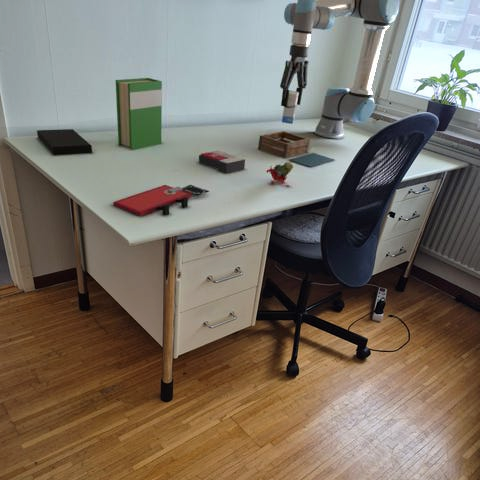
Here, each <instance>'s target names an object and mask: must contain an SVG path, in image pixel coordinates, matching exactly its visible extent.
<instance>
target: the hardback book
mask: <svg viewBox="0 0 480 480" xmlns="http://www.w3.org/2000/svg"><path fill="white" fill-rule="evenodd" d="M162 97H163V81H162V80H159V79H154V78H152V77H151V78H150V77H139V78H125V79H124V78H123V79H115V98H116V100H115V101H116V120H117V140H118V141H117V142H118V146H119V147H122V146H126V147H128V148H129V150H131V151H132V150H133V151H134V150H137V149H141V148H146V147H152V146H155V145H159V144H162V119H163V118H162V115H163V114H162V109H163V107H162V106H163V105H162V102H163V99H162Z"/></svg>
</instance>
